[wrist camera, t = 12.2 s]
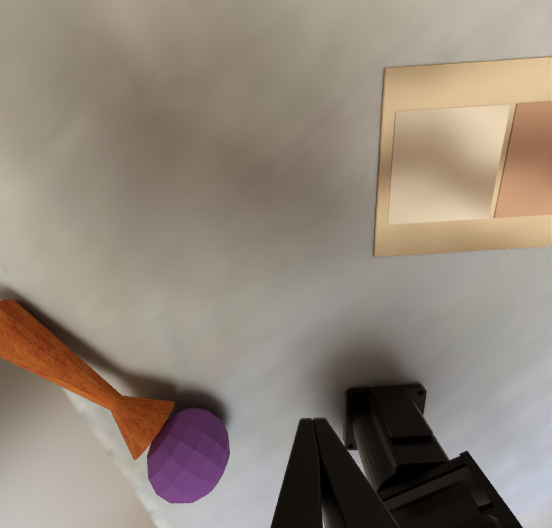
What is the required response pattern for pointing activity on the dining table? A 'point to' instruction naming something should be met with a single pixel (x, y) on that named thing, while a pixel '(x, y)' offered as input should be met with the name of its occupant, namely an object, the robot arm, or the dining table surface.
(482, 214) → the game board
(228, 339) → the dining table surface
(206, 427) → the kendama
